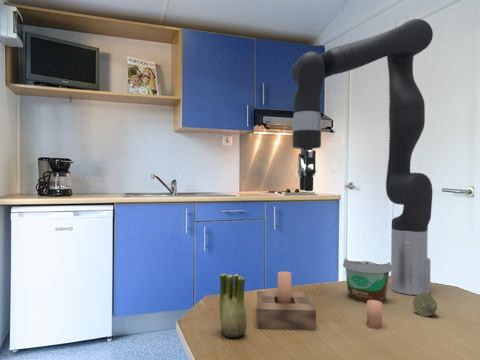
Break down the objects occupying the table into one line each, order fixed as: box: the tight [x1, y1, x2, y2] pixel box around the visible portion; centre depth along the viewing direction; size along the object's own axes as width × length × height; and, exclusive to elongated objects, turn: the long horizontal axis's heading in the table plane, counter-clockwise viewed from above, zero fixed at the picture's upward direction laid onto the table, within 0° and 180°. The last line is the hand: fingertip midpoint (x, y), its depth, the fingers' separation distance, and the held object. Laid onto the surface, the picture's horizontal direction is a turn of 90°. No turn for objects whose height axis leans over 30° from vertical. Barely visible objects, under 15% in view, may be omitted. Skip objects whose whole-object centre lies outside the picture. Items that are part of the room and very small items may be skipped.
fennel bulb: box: [219, 273, 248, 338], centre depth 71 cm, size 6×5×12 cm
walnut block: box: [256, 290, 317, 331], centre depth 80 cm, size 12×12×4 cm
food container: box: [342, 256, 392, 304], centre depth 92 cm, size 12×6×10 cm, turn 62°
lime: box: [412, 293, 438, 317], centre depth 83 cm, size 4×5×5 cm
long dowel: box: [277, 271, 292, 303], centre depth 80 cm, size 3×3×10 cm
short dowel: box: [366, 300, 383, 329], centre depth 76 cm, size 3×3×5 cm
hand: (306, 190), depth 96 cm, fingers open, 8 cm apart
